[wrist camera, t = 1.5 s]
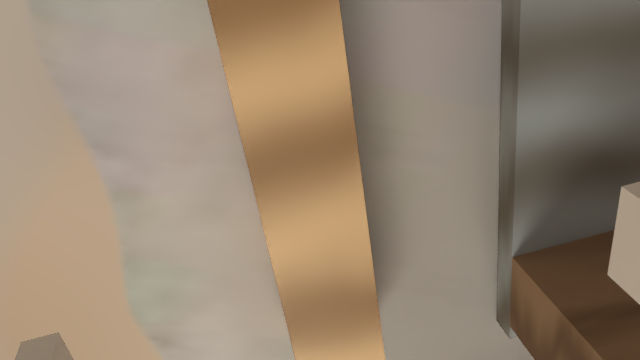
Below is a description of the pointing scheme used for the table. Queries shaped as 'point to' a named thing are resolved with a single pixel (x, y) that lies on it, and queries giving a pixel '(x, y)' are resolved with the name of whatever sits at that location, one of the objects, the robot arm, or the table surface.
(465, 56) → the table surface
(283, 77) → the bed rail
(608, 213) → the wooden u-shaped stand
